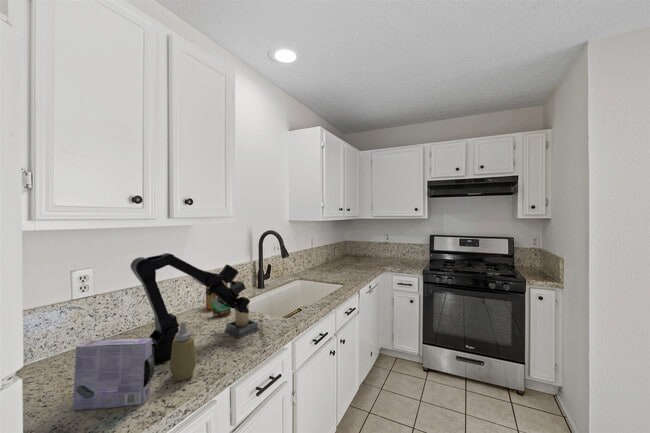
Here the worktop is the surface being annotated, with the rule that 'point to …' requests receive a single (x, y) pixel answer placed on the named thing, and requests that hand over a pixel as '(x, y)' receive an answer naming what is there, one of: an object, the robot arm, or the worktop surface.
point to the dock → (241, 329)
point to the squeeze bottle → (182, 355)
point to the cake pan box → (112, 373)
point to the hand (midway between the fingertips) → (244, 310)
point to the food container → (219, 309)
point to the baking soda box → (208, 299)
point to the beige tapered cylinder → (242, 317)
